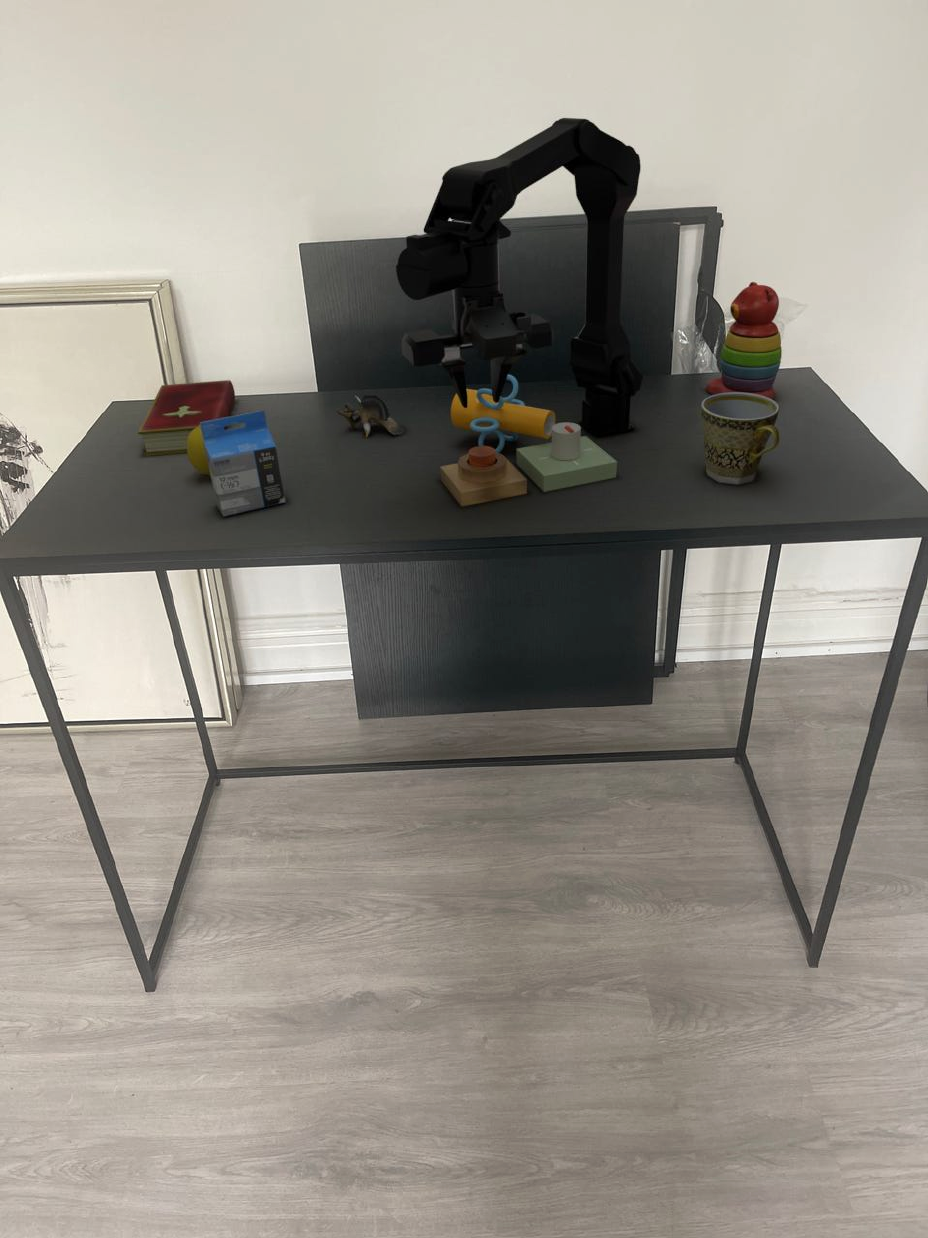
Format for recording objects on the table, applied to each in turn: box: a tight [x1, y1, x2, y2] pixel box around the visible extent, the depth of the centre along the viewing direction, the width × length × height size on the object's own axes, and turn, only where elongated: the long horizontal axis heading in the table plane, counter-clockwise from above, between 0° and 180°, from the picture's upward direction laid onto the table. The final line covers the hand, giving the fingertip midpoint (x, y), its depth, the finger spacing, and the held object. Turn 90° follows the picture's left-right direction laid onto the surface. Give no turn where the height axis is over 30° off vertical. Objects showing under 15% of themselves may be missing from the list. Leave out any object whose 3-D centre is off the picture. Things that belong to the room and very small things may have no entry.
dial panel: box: [515, 435, 618, 493], centre depth 129 cm, size 11×10×3 cm
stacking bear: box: [706, 281, 783, 400], centre depth 145 cm, size 11×10×18 cm
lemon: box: [186, 425, 211, 477], centre depth 131 cm, size 6×6×8 cm
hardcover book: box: [137, 379, 236, 457], centre depth 149 cm, size 12×21×4 cm, turn 6°
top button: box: [468, 445, 496, 467], centre depth 124 cm, size 4×4×2 cm
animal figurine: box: [335, 394, 404, 438], centre depth 143 cm, size 8×7×9 cm
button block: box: [439, 452, 528, 507], centre depth 125 cm, size 10×9×4 cm
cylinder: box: [450, 373, 557, 454], centre depth 134 cm, size 12×10×15 cm
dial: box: [551, 421, 582, 460], centre depth 127 cm, size 4×4×4 cm
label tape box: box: [200, 410, 286, 517], centre depth 121 cm, size 9×4×12 cm, turn 114°
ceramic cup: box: [701, 392, 780, 485], centre depth 122 cm, size 13×10×10 cm
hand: (480, 404), depth 120 cm, fingers open, 4 cm apart
